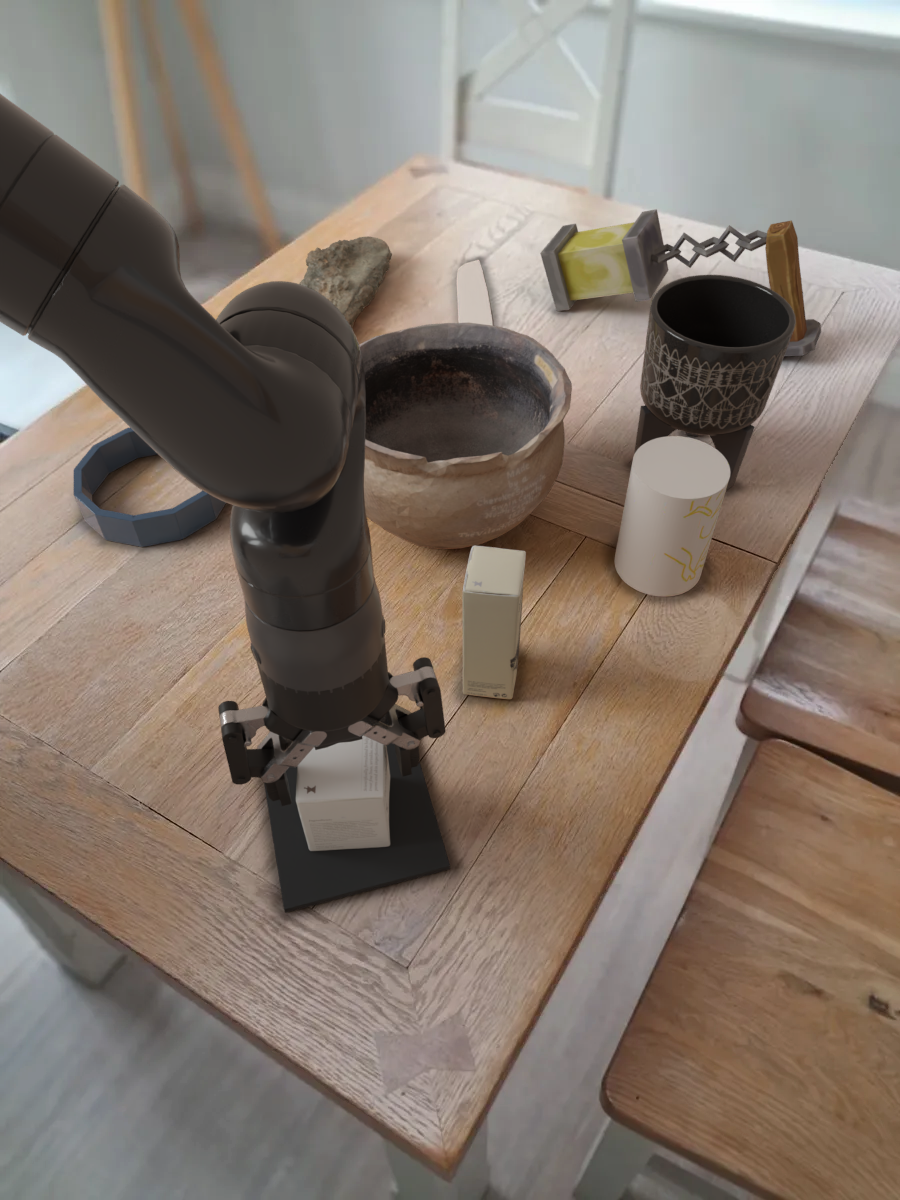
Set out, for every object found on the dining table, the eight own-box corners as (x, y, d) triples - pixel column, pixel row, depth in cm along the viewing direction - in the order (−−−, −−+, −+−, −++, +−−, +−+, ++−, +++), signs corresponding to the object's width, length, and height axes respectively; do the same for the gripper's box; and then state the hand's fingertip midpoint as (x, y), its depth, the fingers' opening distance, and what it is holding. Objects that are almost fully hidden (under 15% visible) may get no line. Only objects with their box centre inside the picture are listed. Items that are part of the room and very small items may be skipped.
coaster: (285, 913, 63) (284, 909, 63) (262, 769, 71) (261, 764, 70) (450, 869, 65) (450, 865, 65) (410, 733, 73) (410, 729, 72)
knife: (492, 256, 123) (457, 252, 123) (496, 401, 100) (453, 396, 100) (491, 265, 124) (456, 261, 124) (494, 411, 101) (452, 406, 101)
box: (512, 702, 75) (520, 600, 65) (460, 695, 75) (460, 593, 66) (519, 652, 78) (528, 548, 69) (469, 646, 79) (471, 542, 69)
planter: (635, 414, 100) (662, 264, 87) (753, 436, 98) (800, 285, 84) (613, 488, 92) (639, 336, 79) (741, 514, 89) (791, 361, 76)
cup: (675, 610, 81) (702, 512, 72) (598, 570, 85) (614, 472, 76) (716, 558, 86) (746, 459, 77) (641, 522, 89) (661, 424, 80)
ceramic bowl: (378, 615, 81) (365, 490, 70) (311, 470, 94) (291, 345, 83) (597, 549, 86) (617, 422, 75) (504, 419, 100) (509, 296, 89)
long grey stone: (220, 401, 104) (299, 422, 103) (212, 364, 100) (294, 385, 98) (340, 245, 125) (408, 260, 123) (338, 209, 121) (407, 224, 119)
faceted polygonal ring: (84, 558, 86) (73, 532, 83) (83, 462, 95) (73, 436, 93) (238, 529, 89) (231, 502, 86) (222, 439, 98) (216, 412, 95)
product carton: (391, 848, 66) (385, 798, 60) (307, 852, 65) (294, 803, 60) (390, 775, 70) (384, 722, 64) (311, 779, 69) (299, 726, 64)
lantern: (574, 375, 120) (811, 357, 104) (540, 252, 110) (797, 211, 94) (593, 345, 125) (824, 324, 109) (562, 225, 115) (811, 181, 98)
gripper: (422, 565, 55) (428, 714, 67) (187, 612, 53) (237, 758, 65) (455, 658, 50) (455, 801, 63) (198, 715, 48) (250, 852, 60)
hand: (344, 779), depth 64 cm, fingers open, 8 cm apart
